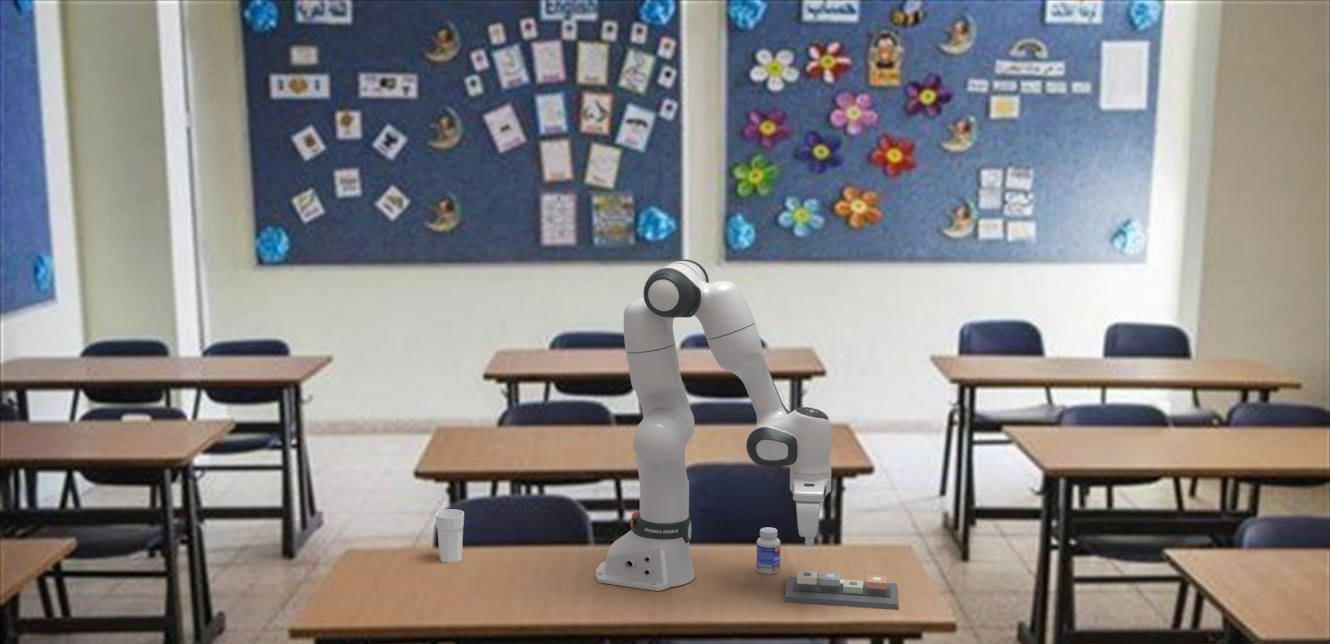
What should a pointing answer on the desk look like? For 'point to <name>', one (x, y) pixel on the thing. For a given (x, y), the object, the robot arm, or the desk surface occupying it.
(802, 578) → the cream key
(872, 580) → the terracotta key
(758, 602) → the desk surface
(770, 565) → the pill bottle
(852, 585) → the sage key
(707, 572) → the desk surface
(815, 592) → the keypad base
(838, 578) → the slate key
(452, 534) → the cup
